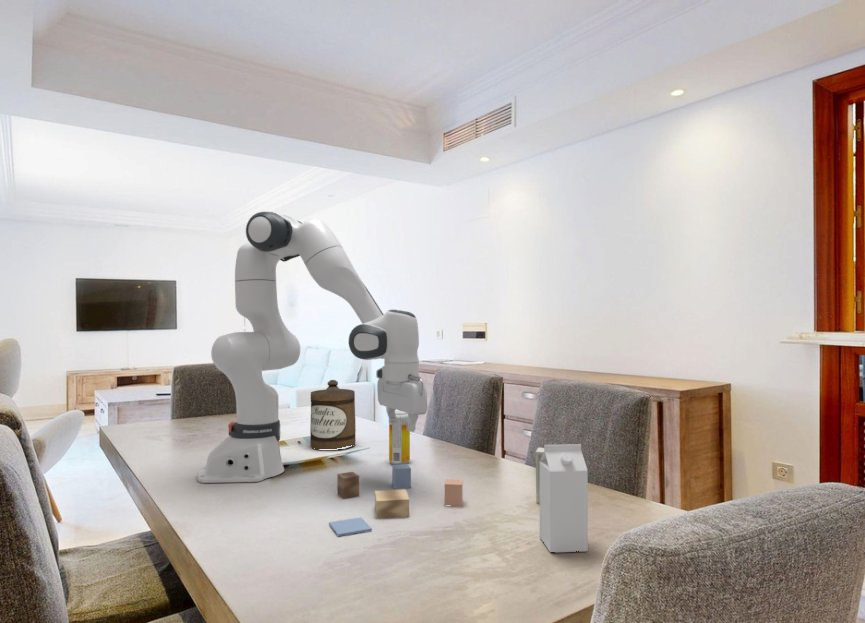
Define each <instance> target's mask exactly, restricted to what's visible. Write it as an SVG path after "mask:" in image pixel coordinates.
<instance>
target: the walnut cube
mask: <svg viewBox="0 0 865 623" xmlns="http://www.w3.org/2000/svg"><path fill="white" fill-rule="evenodd" d="M336 488H337V490H336V492H337V496H339V497H340V498H341V499H343V500H346V499H353V498H357V497H360V475H359V474H357V473H355V472H354V471H349V472H343V473H337V486H336Z"/></svg>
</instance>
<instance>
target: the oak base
mask: <svg viewBox="0 0 865 623" xmlns="http://www.w3.org/2000/svg"><path fill="white" fill-rule="evenodd" d="M374 510H375V516H376V519H377V518H379V519H389V518H388V517H398V518H403V517H402V516H409V517H410V498H409V495H408V493H407V488H403V489H387V490H374Z"/></svg>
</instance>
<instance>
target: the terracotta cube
mask: <svg viewBox="0 0 865 623" xmlns="http://www.w3.org/2000/svg"><path fill="white" fill-rule="evenodd" d="M463 482H464V480H463V479H457V478H456V479H455V478H445V481H444V506H445V505H451V506H450V507H461V506H462V507H463V498H464V497H463V496H464V494H463V492H464V491H463V490H464V488H463V486H464V484H463Z"/></svg>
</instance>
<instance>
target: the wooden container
mask: <svg viewBox="0 0 865 623" xmlns="http://www.w3.org/2000/svg"><path fill="white" fill-rule="evenodd" d="M338 386H339V382H338V381H337V380H336V379H330V380H329V381H327V388H326V389H318V390H313V391H311V392H310V422H309V423H310V429H309V430H310V433H309V434H310V447H312V448H311V449H313V448H315V449H337V448H342V447H346V446H351V445H352V446H353V445H355V446H356V432H357V429H356V427H357V426H356V402H355V401H356V400H355V398H356V395H355V394H356V393H355V390H353V389H348V388H345V389H344V388H339V387H338ZM315 449H314V450H315Z"/></svg>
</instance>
